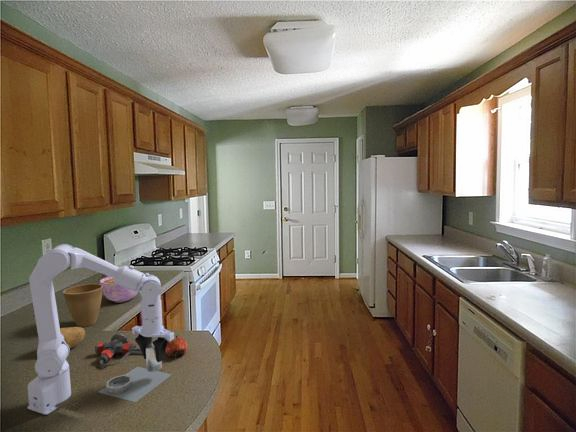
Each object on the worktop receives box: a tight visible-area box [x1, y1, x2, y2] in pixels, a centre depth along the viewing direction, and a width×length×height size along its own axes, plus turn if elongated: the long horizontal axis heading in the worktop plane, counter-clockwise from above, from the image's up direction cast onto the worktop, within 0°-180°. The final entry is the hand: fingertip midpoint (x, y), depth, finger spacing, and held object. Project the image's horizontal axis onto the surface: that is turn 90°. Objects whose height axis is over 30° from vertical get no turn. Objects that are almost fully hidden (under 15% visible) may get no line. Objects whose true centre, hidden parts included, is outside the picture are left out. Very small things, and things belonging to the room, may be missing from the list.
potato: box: [60, 326, 86, 349], centre depth 130 cm, size 10×14×8 cm
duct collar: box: [105, 374, 132, 395], centre depth 104 cm, size 7×7×2 cm
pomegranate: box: [165, 335, 188, 360], centre depth 123 cm, size 7×7×10 cm
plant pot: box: [62, 283, 103, 328], centre depth 154 cm, size 15×15×16 cm
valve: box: [94, 333, 167, 368], centre depth 123 cm, size 6×26×15 cm
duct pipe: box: [145, 342, 163, 372], centre depth 108 cm, size 5×4×7 cm
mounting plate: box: [98, 366, 172, 403], centre depth 106 cm, size 15×14×1 cm
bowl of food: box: [99, 276, 139, 303], centre depth 185 cm, size 20×20×12 cm
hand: (153, 359), depth 108 cm, fingers closed on duct pipe, 4 cm apart
